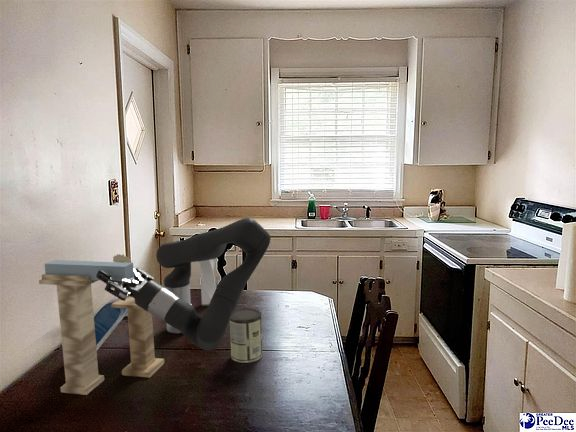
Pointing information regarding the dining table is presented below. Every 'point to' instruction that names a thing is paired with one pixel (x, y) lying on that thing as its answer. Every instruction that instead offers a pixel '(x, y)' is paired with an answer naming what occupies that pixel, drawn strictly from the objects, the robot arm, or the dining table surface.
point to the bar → (90, 268)
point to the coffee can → (246, 335)
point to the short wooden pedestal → (139, 340)
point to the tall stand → (76, 332)
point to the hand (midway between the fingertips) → (108, 268)
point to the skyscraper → (207, 281)
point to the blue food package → (107, 321)
